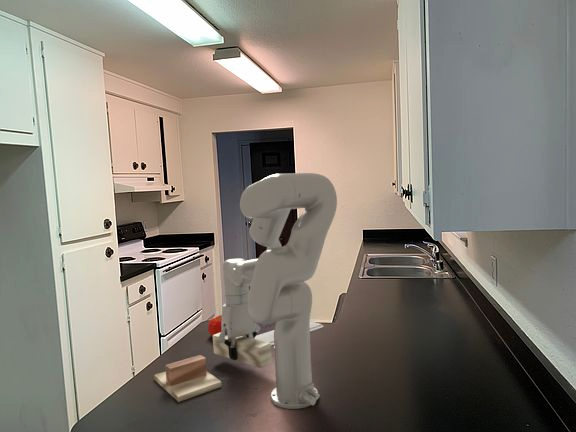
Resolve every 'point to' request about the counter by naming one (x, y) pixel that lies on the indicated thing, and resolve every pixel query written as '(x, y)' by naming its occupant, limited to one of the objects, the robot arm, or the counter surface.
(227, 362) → the counter surface
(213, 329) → the tomato
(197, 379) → the ridge stand
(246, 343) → the birch bar
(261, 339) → the baseboard molding
